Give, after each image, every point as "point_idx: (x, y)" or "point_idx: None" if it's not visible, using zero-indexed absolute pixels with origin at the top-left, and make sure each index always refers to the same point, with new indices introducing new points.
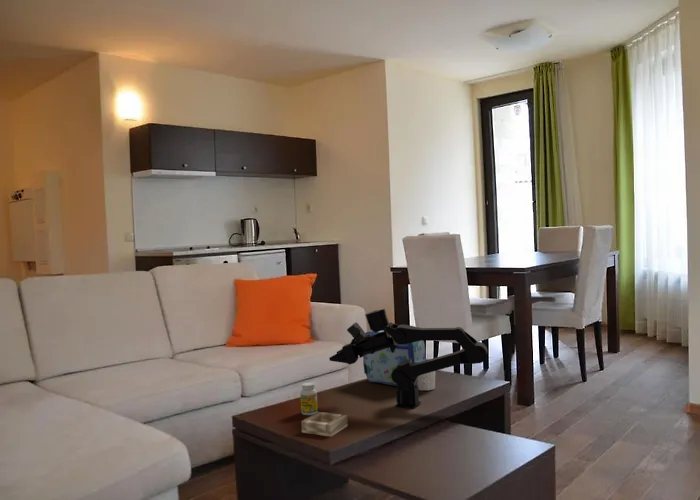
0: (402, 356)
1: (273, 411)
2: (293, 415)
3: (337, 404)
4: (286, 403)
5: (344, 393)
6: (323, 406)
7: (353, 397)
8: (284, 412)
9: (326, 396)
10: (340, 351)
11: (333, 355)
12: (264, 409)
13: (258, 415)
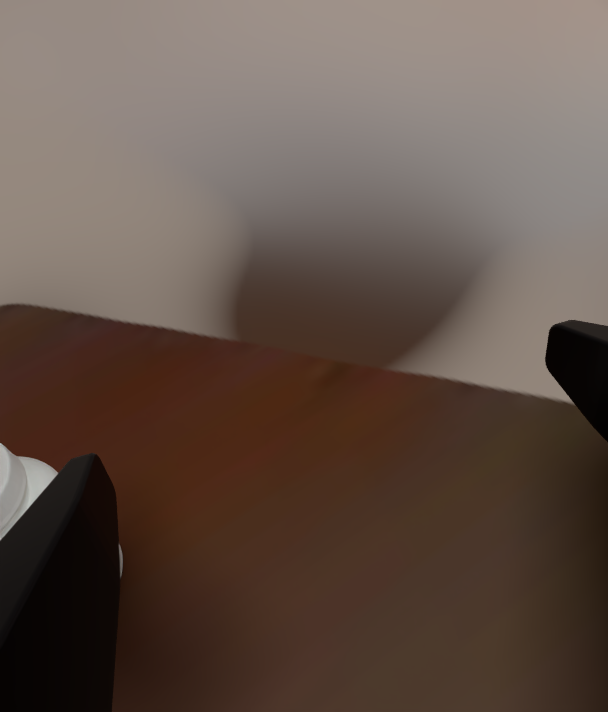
0: None
1: (79, 379)
2: None
3: (317, 657)
4: (222, 355)
5: (580, 533)
6: (234, 579)
7: (552, 675)
8: (67, 433)
9: (441, 461)
10: (606, 369)
11: (20, 532)
12: (105, 331)
13: (8, 360)
